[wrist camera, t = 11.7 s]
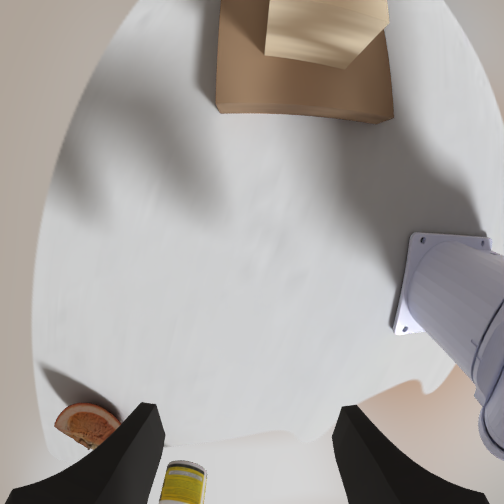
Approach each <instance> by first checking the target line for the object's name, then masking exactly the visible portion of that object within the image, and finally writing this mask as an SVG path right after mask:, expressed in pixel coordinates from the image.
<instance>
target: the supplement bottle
mask: <svg viewBox="0 0 504 504" xmlns="http://www.w3.org/2000/svg"><path fill="white" fill-rule="evenodd" d="M206 479H207V471H206V470H205V469H204V468H203V467H202V466H200V465H198V464H196V463H193V462H189V461H172V462H170V463H169V464H168V466H167V470H166V474H165V479H164V483H163V487H162V491H161V495H160V499H159V504H204V497H205V488H206Z"/></svg>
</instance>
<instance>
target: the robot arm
mask: <svg viewBox="0 0 504 504" xmlns="http://www.w3.org/2000/svg"><path fill="white" fill-rule="evenodd" d="M422 237H423V241H422V242H420V240H421V238H422ZM481 242H482V243H481ZM491 248H492V239H491V238H489V237H479V236H466V235H452V234H437V233H421V232H415V233H413V234H412V235H411V236H410V241H409V249H408V255H407V262H406V268H405V274H404V279H403V285H402V290H401V295H400V300H399V304H398V309H397V313H396V317H395V321H394V325H393V332H394V333H395V334H396V335H402V334H410V333H418V332H425V331H426V332H427V333H428V334H429V335H430V336H431V337H432V339H433V340H434V341H435V342H436V343H437V344H438V345H439V346H440V347H441V348H442V349H443V350H444V351H445V352H446V353H447V354H448V355H449V356H450V357H451V358H452V359H453V361H454V362H455V363H456V364H457V365H458V366H459V367H460V368H461V369H462V370H463V371H464V373H465V374H466V375H467V376H468V377H469V378H470V379H471V380H472V381H473V383H474V384H475V385H476V391H475V394H474V397H475V398H476V399H477V400H478V402H479V403H480V404H481V405H482V409H481V411H480V415H479V421H478V427H479V433H480V437H481V439H482V441H483V443H484V445H485V446H486V448H487V449H488V450H489V451H490V452H491V453H492V454H493V455H494V456H496V457H497V458H499V459H501V460H503V461H504V256H503V255H500V254H498V253H496V252H493V251H491ZM405 326H406V327H405ZM404 327H405V328H404ZM403 328H404V329H403ZM402 329H403V330H402ZM164 440H165V432H164V429H163V426H162V422H161V419H160V416H159V413H158V409H157V406H156V404H150V403H144V402H142V403H140V404H139V405H138V406H137V408H136V409H135V410H134V411H133V412H132V413H131V414H130V415H129V416H128V417H127V419H126V420H125V421H124V422H123V423H122V424H121V425H120V426H119V427H118V428H117V429H116V430H115V431H114V432H113V433H112V434H111V435H110V436H109V437H108V438H107V439H106V440H105V441H103V442H102V443H101V444H100V445H99V446H98V447H97V448H95V449H94V450H93V451H92V452H90V453H89V454H88V455H87V456H85V457H84V458H82V459H81V460H80V461H78V462H77V463H75V464H73V465H72V466H70V467H68V468H67V469H65V470H64V471H61V472H60V473H58V474H56V475H54V476H51V477H49V478H47V479H44V480H42V481H40V482H37V483H34V484H30V485H27V486H23V487H19V488H15V489H13V490H12V491H11V493H10V495H9V497H8V499H7V501H6V503H5V504H147V501H148V497H149V494H150V491H151V487H152V484H153V481H154V478H155V475H156V472H157V469H158V466H159V462H160V459H161V456H162V451H163V446H164ZM332 441H333V447H334V453H335V458H336V462H337V465H338V468H339V472H340V475H341V478H342V481H343V485H344V488H345V491H346V494H347V498H348V502H349V504H489V502H488V500H487V498H486V496H485V495H484V493H481V492H477V491H473V490H470V489H466V488H463V487H460V486H458V485H455V484H453V483H450V482H448V481H446V480H444V479H442V478H440V477H438V476H436V475H434V474H432V473H430V472H429V471H427V470H425V469H424V468H423V467H421V466H420V465H418V464H417V463H415V462H414V461H413V460H411V459H410V458H409V457H408V456H406V455H405V454H404V453H403V452H402V451H400V450H399V449H398V448H397V447H396V446H395V445H394V444H393V443H392V442H390V440H388V439H387V437H386V436H384V435H383V433H382V432H381V431H379V429H378V428H377V427H376V426H375V425H374V424H373V423H372V422H371V421H370V420H369V418H368V417H367V416H366V415H365V414H364V413H363V412H362V410H361V409H360V408H359V407H358V406H357V405H351V406H344V407H342V408H341V411H340V414H339V417H338V420H337V423H336V426H335V429H334V432H333V435H332Z"/></svg>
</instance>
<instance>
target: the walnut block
mask: <svg viewBox="0 0 504 504" xmlns="http://www.w3.org/2000/svg"><path fill="white" fill-rule="evenodd" d="M269 4H270V0H221V6H220V20H219V35H218V53H217V75H216V103H215V104H216V105H217V107H218V109H219V111H220V113H221V114H224V113H264V114H289V115H304V116H316V117H327V118H336V119H344V120H352V121H359V122H365V123H371V124H379V123H381V122H384V121H387V120H390V119H392V118H394V110H393V96H392V84H391V75H390V66H389V58H388V51H387V45H386V39H385V33H384V29H383V30H382V31H381V32H380V33H379V34H378V35H377V36H376V37H375V38H374V39H373V40H372V41H371V42H370V43H369V44H368V45H367V46H366V48H365V49H364V50H363V51H362V52H361V53H360V54H359V55H358V56H357V57H356V58H355V59H354V60H353V61H352V62H351V64H350V65H349V66H348V67H347V68H346V69H345V70H344V69H340V68H336V67H331V66H327V65H322V64H317V63H312V62H307V61H301V60H295V59H289V58H282V57H275V56H266V55H265V44H266V34H267V24H268V14H269Z"/></svg>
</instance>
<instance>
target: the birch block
mask: <svg viewBox="0 0 504 504" xmlns="http://www.w3.org/2000/svg"><path fill="white" fill-rule="evenodd" d="M388 24H389V14H388V5H387V0H270V4H269V14H268V24H267V34H266V44H265V55H266V56H275V57H282V58H289V59H295V60H301V61H307V62H312V63H317V64H322V65H327V66H331V67H336V68H340V69H344V70H345V69H346V68H347V67H348V66H349V65H350V64H351V62H352V61H353V60H354V59H355V58H356V57H357V56H358V55H359V54H360V53H361V52H362V51H363V50H364V49H365V48H366V46H367V45H368V44H369V43H370V42H371V41H372V40H373V39H374V38H375V37H376V36H377V35H378V34H379V33H380V32H381V31H382V30H383V29H384V28H385V27H386V26H387V25H388Z"/></svg>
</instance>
